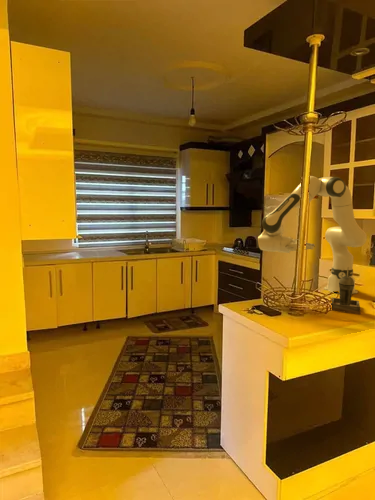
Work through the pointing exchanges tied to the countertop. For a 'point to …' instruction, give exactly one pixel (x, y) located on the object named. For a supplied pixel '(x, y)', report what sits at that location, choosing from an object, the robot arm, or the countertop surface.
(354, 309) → the dock plate
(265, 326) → the countertop surface
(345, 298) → the beverage cup
